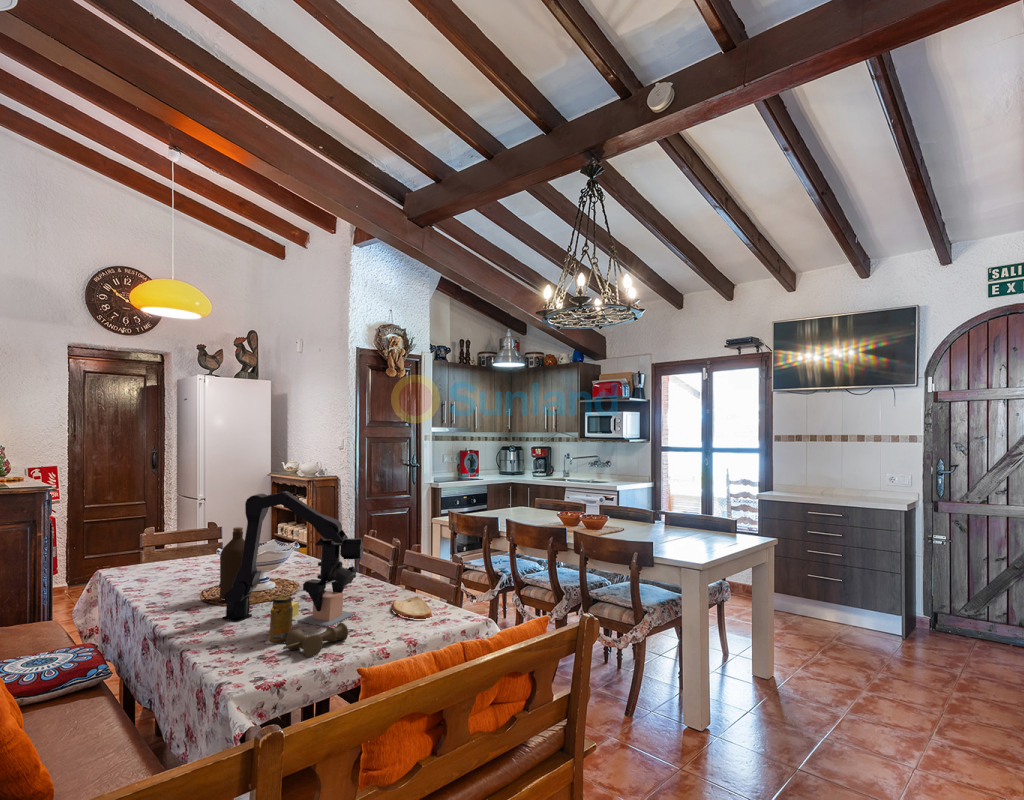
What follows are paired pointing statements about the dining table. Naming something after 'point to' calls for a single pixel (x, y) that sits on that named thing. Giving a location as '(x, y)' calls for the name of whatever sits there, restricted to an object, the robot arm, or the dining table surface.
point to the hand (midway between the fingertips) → (327, 607)
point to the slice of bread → (412, 608)
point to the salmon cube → (329, 606)
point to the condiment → (280, 619)
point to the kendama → (315, 639)
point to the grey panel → (326, 623)
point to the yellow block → (295, 608)
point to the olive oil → (231, 561)
